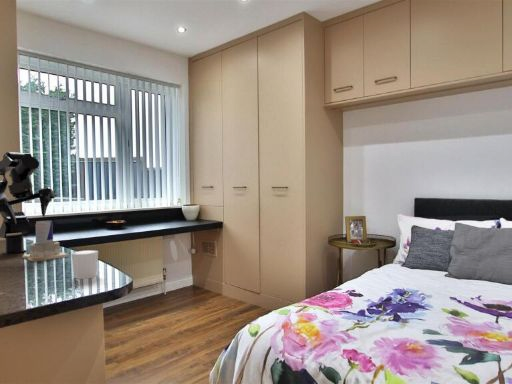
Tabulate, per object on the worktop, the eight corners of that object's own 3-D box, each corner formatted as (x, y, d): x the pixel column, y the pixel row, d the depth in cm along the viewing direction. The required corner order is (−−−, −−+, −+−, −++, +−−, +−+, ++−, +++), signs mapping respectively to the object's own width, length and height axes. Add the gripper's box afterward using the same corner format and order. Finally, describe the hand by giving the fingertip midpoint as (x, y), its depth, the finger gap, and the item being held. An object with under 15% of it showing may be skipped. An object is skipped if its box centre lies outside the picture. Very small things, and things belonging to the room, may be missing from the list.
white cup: (71, 280, 96) (71, 255, 96) (71, 275, 102) (71, 251, 102) (99, 277, 99) (99, 252, 99) (97, 272, 106) (97, 248, 105)
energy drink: (56, 253, 131) (56, 220, 131) (46, 256, 126) (46, 222, 125) (43, 252, 131) (42, 220, 131) (32, 255, 126) (31, 222, 126)
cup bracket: (22, 257, 128) (22, 243, 128) (55, 253, 136) (55, 240, 136) (33, 261, 121) (33, 247, 121) (67, 256, 129) (67, 243, 129)
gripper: (-18, 180, 123) (-10, 221, 119) (42, 167, 129) (51, 205, 125) (-4, 191, 133) (4, 230, 129) (51, 179, 139) (59, 215, 135)
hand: (29, 220), depth 129 cm, fingers open, 9 cm apart
